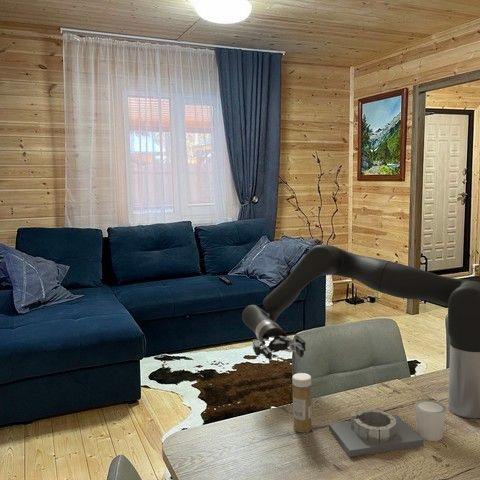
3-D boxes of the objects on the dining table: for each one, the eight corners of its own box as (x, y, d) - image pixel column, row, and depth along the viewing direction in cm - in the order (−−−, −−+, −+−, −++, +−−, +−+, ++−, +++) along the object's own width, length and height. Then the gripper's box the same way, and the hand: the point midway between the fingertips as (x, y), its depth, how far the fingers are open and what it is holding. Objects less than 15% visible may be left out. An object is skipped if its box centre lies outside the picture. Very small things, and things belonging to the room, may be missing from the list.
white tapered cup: (445, 430, 115) (446, 402, 114) (444, 444, 109) (445, 415, 108) (415, 424, 118) (416, 397, 117) (412, 438, 112) (413, 410, 111)
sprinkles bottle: (315, 429, 117) (315, 376, 116) (301, 435, 115) (300, 381, 113) (303, 421, 121) (302, 370, 119) (289, 427, 119) (288, 375, 117)
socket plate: (396, 420, 121) (396, 414, 120) (424, 445, 109) (424, 439, 109) (328, 429, 117) (328, 423, 117) (349, 456, 105) (349, 450, 105)
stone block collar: (383, 418, 118) (383, 407, 118) (403, 439, 109) (403, 426, 109) (347, 423, 117) (347, 411, 116) (365, 444, 107) (365, 432, 107)
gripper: (246, 324, 142) (260, 343, 126) (293, 321, 145) (311, 339, 129) (247, 349, 143) (260, 371, 127) (293, 345, 146) (311, 366, 130)
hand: (286, 355), depth 128 cm, fingers open, 8 cm apart
